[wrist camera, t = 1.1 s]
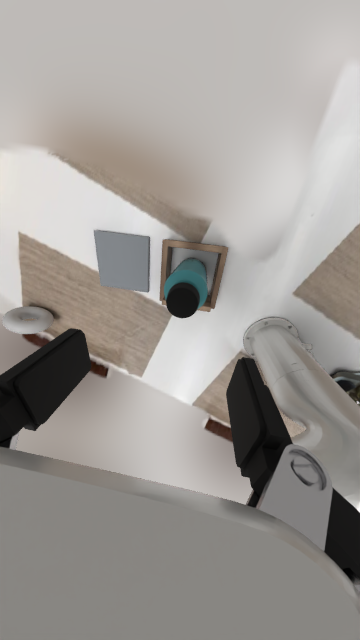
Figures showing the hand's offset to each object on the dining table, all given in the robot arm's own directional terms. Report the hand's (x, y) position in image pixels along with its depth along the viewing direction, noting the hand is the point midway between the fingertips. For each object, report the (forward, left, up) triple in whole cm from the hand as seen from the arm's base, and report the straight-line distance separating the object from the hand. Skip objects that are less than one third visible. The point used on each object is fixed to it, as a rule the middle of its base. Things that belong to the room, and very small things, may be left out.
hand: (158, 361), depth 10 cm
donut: (+41, +17, -30) cm, 54 cm away
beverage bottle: (0, 0, -30) cm, 30 cm away
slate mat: (+16, 0, -30) cm, 34 cm away
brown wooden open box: (0, 0, -30) cm, 30 cm away
